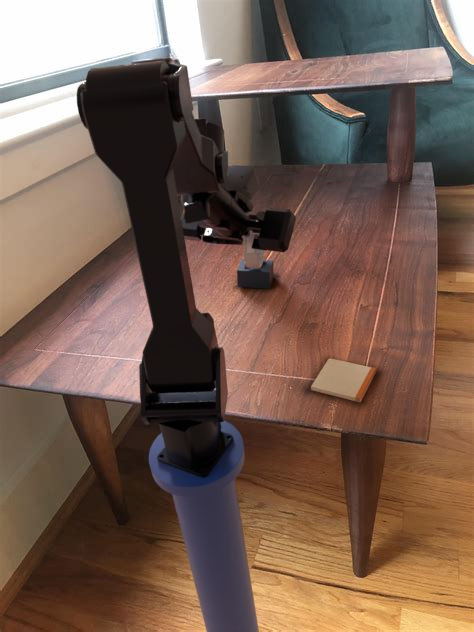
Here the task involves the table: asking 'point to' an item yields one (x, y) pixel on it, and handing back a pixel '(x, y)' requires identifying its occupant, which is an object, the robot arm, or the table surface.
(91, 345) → the table surface
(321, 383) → the mat
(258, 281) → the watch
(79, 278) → the table surface
